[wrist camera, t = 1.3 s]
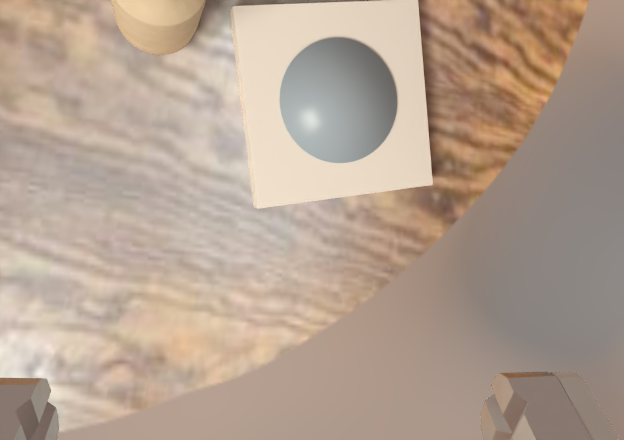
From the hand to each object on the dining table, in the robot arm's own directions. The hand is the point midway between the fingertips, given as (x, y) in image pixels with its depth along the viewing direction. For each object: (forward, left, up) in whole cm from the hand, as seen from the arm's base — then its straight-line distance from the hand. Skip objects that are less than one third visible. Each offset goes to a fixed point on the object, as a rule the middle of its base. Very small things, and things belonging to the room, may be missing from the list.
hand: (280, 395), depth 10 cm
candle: (0, +15, -31) cm, 34 cm away
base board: (+12, +8, -31) cm, 34 cm away
